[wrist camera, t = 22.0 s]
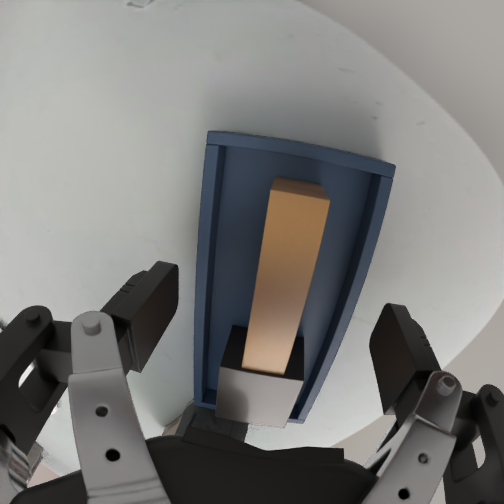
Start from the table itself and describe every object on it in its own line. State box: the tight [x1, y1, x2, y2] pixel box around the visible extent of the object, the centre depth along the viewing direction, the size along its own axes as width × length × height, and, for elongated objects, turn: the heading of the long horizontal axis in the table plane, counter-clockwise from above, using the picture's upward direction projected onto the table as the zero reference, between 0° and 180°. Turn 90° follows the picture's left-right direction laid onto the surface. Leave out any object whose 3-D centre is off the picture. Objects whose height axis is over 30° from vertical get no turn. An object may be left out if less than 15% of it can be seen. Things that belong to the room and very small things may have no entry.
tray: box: [194, 131, 396, 424], centre depth 16 cm, size 18×8×2 cm, turn 172°
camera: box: [162, 399, 249, 442], centre depth 19 cm, size 11×6×10 cm, turn 142°
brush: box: [215, 176, 330, 428], centre depth 14 cm, size 14×4×4 cm, turn 172°
